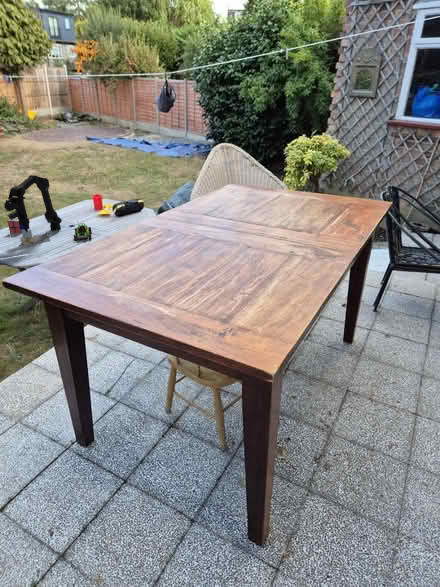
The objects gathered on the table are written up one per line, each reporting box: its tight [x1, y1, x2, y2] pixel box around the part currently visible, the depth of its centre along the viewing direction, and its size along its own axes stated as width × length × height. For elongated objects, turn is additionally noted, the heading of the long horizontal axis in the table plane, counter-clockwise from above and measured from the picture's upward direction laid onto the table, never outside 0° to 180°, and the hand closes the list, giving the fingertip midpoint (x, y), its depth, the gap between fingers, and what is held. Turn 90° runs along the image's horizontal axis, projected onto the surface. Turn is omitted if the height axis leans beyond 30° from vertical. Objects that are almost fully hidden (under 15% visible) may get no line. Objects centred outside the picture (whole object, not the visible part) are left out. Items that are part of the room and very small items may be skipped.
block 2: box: [21, 233, 36, 246], centre depth 272 cm, size 7×7×4 cm
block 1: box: [21, 228, 33, 238], centre depth 270 cm, size 6×6×4 cm
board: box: [19, 233, 51, 247], centre depth 279 cm, size 18×18×1 cm
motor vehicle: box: [73, 220, 92, 242], centre depth 285 cm, size 12×19×11 cm, turn 15°
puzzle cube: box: [6, 217, 31, 234], centre depth 294 cm, size 10×10×10 cm
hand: (25, 229), depth 268 cm, fingers open, 9 cm apart
